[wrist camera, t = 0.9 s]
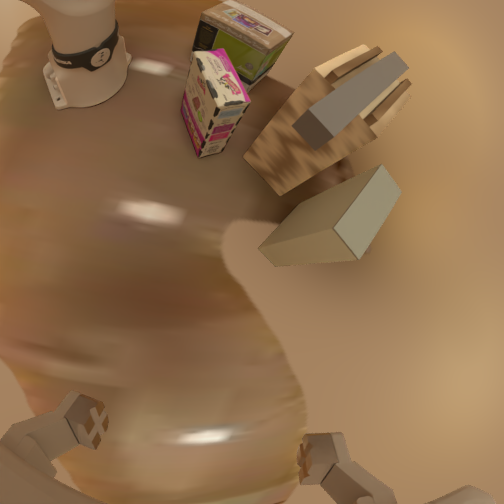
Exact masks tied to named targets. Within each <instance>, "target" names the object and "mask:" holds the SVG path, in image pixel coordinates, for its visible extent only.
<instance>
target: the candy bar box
mask: <svg viewBox="0 0 504 504" xmlns="http://www.w3.org/2000/svg"><path fill="white" fill-rule="evenodd" d="M250 103H251V100H250V98H249V96H248V94H247V92H246V90H245V88H244V86H243V84H242V82H241V80H240V78H239V76H238V74H237V72H236V71H235V69H234V67H233V65H232V63H231V61H230V59H229V57H228V55H227V53H226V51H225V50H224V48H222V49H212V50H203V51H195V52H194V54H193V58H192V62H191V66H190V70H189V74H188V78H187V83H186V87H185V92H184V96H183V101H182V106H181V113H182V115H183V118H184V121H185V123H186V126H187V129H188V132H189V134H190V137H191V140H192V143H193V145H194V148H195V151H196V154H197V156H198V158H201V157H205V156H208V155H212V154H216V153H220V152H222V151H223V149H224V147H225V146H226V144H227V142H228V140H229V138H230V137H231V135H232V133H233V131H234V129H235V128H236V126H237V124H238V123H239V121H240V119H241V118H242V116H243V114H244V113H245V111H246V109H247V107H248V106H249V104H250Z"/></svg>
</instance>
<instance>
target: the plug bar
mask: <svg viewBox="0 0 504 504" xmlns="http://www.w3.org/2000/svg"><path fill="white" fill-rule="evenodd" d="M407 69H409V67H408V66H407V65H406V64H405V62H404V61H403V60H402V59H401V58H400V57H399V56H398V55H397V54H396V52H393V53H391V54H390V55H388V56H386V57H384V58H383V59H381V60H379V61H378V62H376V63H375V64H373V65H371V66H370V67H368V68H367V69H365V70H364V71H362V72H360V73H359V74H357V75H356V76H354V77H353V78H351V79H350V80H348V81H347V82H345V83H344V84H342V85H341V86H340V87H338V88H337V89H335V90H334V91H332V92H331V93H329V94H328V95H327V96H325V97H324V98H322V99H321V100H320V101H318V102H317V103H315V104H314V105H313V106H311V107H310V108H309V109H307V110H306V111H305V112H304V113H303V114H302V115H301V117H300V118H299V119H298V120H297V121H296V122H295V123H294V124H293V125H292V127H293V128H294V129H295V130H296V131H297V132H298V133H299V134H300V135H301V136H302V138H303V139H304V140H305V141H306V142H307V143H308V144H309V145H310V146H311V147H312V148H313V149H314V151H316V150H317V149H319V148H320V147H321V146H323V145H324V144H326V143H327V142H328V141H330V140H331V139H332V138H334V137H335V136H336V135H337V134H338V133H339V132H340V131H341V130H342V129H343V128H344V127H346V126H347V125H348V124H349V123H350V122H351V121H352V120H353V119H354V118H355V117H356V116H357V115H358V114H359V113H360V112H361V111H363V110H364V109H365V108H366V107H367V106H368V105H369V104H370V103H371V102H372V101H373V100H374V99H376V98H377V97H378V96H379V95H380V94H381V93H382V92H383V91H384V90H385V89H386V88H388V87H389V86H390V85H391V84H392V83H393V82H394V81H395V80H396V79H397V78H399V76H401V75H402V74H403V73H404V72H405V71H406V70H407Z"/></svg>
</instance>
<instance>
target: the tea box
mask: <svg viewBox="0 0 504 504" xmlns="http://www.w3.org/2000/svg"><path fill="white" fill-rule="evenodd" d="M293 34H294V32H293V31H291V30H290V29H288V28H287V27H285V26H284V25H282V24H280V23H279V22H277V21H275V20H273V19H272V18H270V17H268V16H266V15H264V14H263V13H261V12H259V11H257V10H256V9H254V8H252V7H250V6H248V5H246V4H244V3H242V2H239V1H237V0H228V1H225V2H223V3H221V4H219V5H216V6H214V7H212V8H210V9H208V10H206V11H204V12H202V14H201V18H200V21H199V25H198V28H197V32H196V36H195V40H194V44H193V48H192V53H191V58H190V61H191V62H192V58H193V54H194V52H195V51H203V50H212V49H222V48H224V50H225V51H226V53H227V55H228V57H229V59H230V61H231V63H232V65H233V67H234V69H235V71H236V72H237V74H238V76H239V78H240V80H241V82H242V84H243V86H244V88H245V90H246V92H247V93H248V92H249V91H250V90H251V89H252V88H253V87H254V86H255V85H256V84H257V83H258V82H259V81H260V80H261V79H262V78H264V77H265V76H266V75H267V74H268V72H269V71H270V70H271V68H272V66H273V65H274V64H275V62H276V60H277V59H278V57H279V55H280V54H281V52H282V51H283V49H284V48H285V46H286V44H287V43H288V41H289V40H290V39H291V37H292V35H293Z"/></svg>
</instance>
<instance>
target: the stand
mask: <svg viewBox="0 0 504 504" xmlns="http://www.w3.org/2000/svg"><path fill="white" fill-rule="evenodd" d="M381 52H383V51H382V50H381V49H380V48H379V47H378V46H377V47H375V48H373V49H371V50H370V49H369V48H368V47H367V46H366V45H365V44H363V45H361V46H359V47H357V48H355V49H352V50H350V51H348V52H346V53H344V54H342V55H340V56H337V57H335V58H334V59H331V60H330V61H328V62H325V63H324V64H322V65H320V66H318V67H316V68H314V69H313V70H312V72H311V73H310V74H309V75H308V76H307V77H306V78H305V80H304V81H303V82H302V83H301V84H300V86H299V87H298V88H297V89H296V90H295V91H294V93H293V94H292V95H291V96H290V97H289V99H288V100H287V101H286V102H285V103H284V105H283V106H282V107H281V108H280V110H279V111H278V112H277V113H276V114H275V116H274V117H273V118H272V119H271V121H270V122H269V123H268V124H267V126H266V127H265V128H264V130H263V131H262V132H261V133H260V135H259V136H258V137H257V139H256V140H255V141H254V142H253V144H252V145H251V146H250V148H249V149H248V150H247V152H246V153H245V154H244V156H243V158H244V159H245V160H246V161H247V162H248V163H249V164H250V165H251V166H252V167H253V168H254V169H255V171H256V172H257V173H258V174H259V175H260V176H261V177H262V178H263V179H264V180H265V181H266V182H267V183H268V184H269V185H270V186H271V187H272V188H273V189H274V191H275V192H276V193H277V194H278V195H279V196H282V195H283V194H285V193H287V192H288V191H290V190H291V189H293V188H295V187H296V186H298V185H299V184H301V183H303V182H304V181H306V180H308V179H309V178H311V177H312V176H314V175H316V174H317V173H319V172H321V171H322V170H324V169H326V168H327V167H329V166H331V165H332V164H334V163H336V162H337V161H339V160H341V159H342V158H344V157H346V156H347V155H349V154H350V153H352V152H354V151H356V150H357V149H359V148H361V147H362V146H364V145H366V144H368V143H369V142H371V141H373V140H375V139H376V138H378V137H379V136H380V135H381V133H382V132H383V131H384V130H385V128H386V127H387V126H388V124H389V123H390V122H391V121H392V120H393V119H394V117H395V116H396V115H397V114H398V112H399V111H400V110H401V109H402V107H403V106H404V105H405V104H406V103H407V101H408V100H409V99H410V98H411V96H410V94H409V93H408V92H407V88H408V87H409V86H410V85H411V82H410V81H409V80H408V79H405V80H404V81H402V82H401V83H400V82H399V81H398V80H397V79H396V80H395V81H394V82H393V83H392V84H391V85H390V86H389V87H388V88H386V89H385V90H384V91H383V92H382V93H381V94H380V95H379V96H378V97H377V98H376V99H374V100H373V101H372V102H371V103H370V104H369V105H368V106H367V107H366V108H365V109H364V110H363V111H361V112H360V113H359V114H358V115H357V116H356V117H355V118H354V119H353V120H352V121H351V122H350V123H349V124H348V125H347V126H346V127H344V128H343V129H342V130H341V131H340V132H339V133H338V134H337V135H336V136H335V137H334V138H332V139H331V140H330V141H328V142H327V143H326V144H324V145H323V146H321V147H320V148H319V149H317V150H316V151H314V149H313V148H312V147H311V146H310V145H309V144H308V143H307V142H306V141H305V140H304V139H303V138H302V136H301V135H300V134H299V133H298V132H297V131H296V130H295V129H294V128H293V127H292V125H293V124H294V123H295V122H296V121H297V120H298V119H299V118H300V117H301V115H302V114H303V113H304V112H305V111H306V110H307V109H309V108H310V107H311V106H313V105H314V104H315V103H317V102H318V101H320V100H321V99H322V98H324V97H325V96H327V95H328V94H329V93H331V92H332V91H334V90H335V89H337V88H338V87H340V86H341V85H342V84H344V83H345V82H347V81H348V80H350V79H351V78H353V77H354V76H356V75H357V74H359V73H360V72H362V71H364V70H365V69H367V68H368V67H370V66H371V65H373V64H375V63H376V62H378V61H379V59H378V58H377V56H378V55H379V54H380V53H381Z"/></svg>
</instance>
